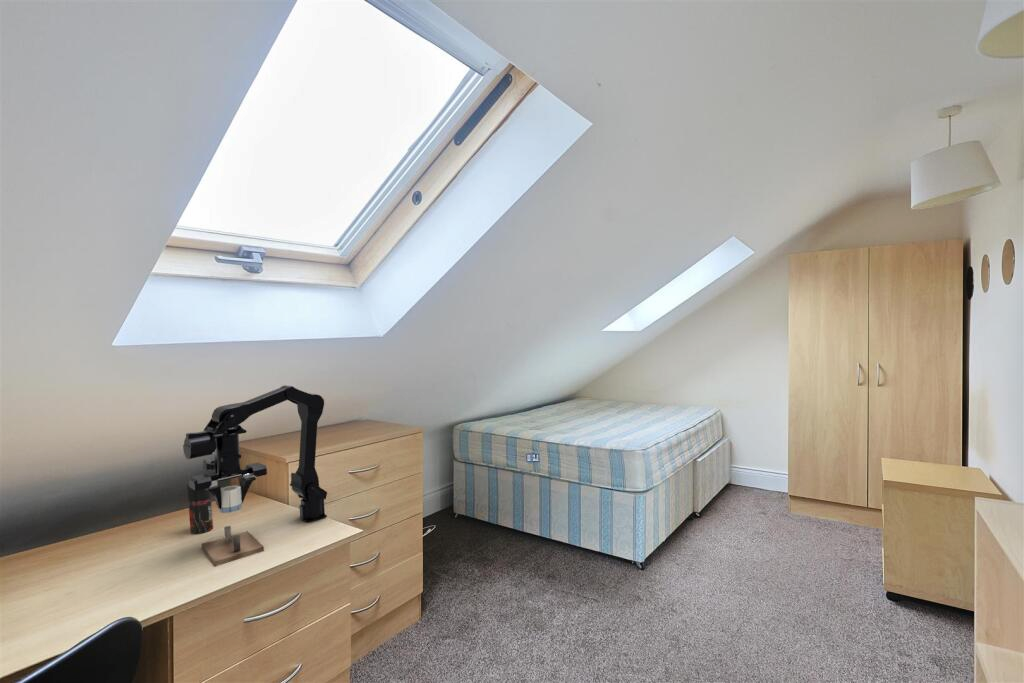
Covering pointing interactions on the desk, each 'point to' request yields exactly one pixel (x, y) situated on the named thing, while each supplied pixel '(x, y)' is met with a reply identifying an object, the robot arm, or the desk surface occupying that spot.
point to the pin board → (231, 547)
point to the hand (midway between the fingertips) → (230, 505)
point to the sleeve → (231, 499)
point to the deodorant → (200, 510)
